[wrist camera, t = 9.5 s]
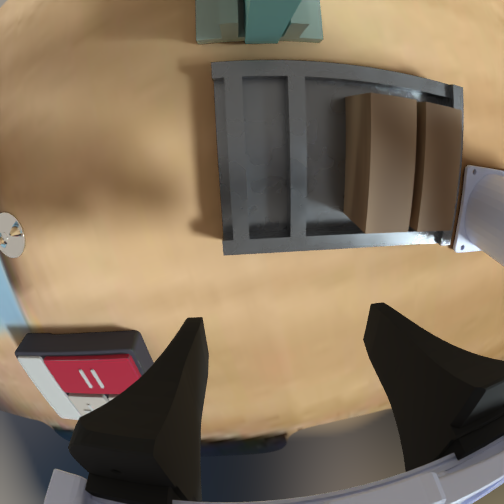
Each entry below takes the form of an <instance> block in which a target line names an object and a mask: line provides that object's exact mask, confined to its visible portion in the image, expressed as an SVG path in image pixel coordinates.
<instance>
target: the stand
mask: <svg viewBox="0 0 504 504" xmlns="http://www.w3.org/2000/svg"><path fill="white" fill-rule="evenodd" d="M322 40H323V31H322V19H321V9H320V0H302V1H301V2H300V4H299V6H298V8H297V9H296V11H295V13H294V14H293V16H292V18H291V20H290V22H289V23H288V25H287V27H286V29H285V31H284V32H283V34H282V36H281V38H280V40H279V41H296V42H313V43H320V42H321V41H322ZM196 41H197V43H198V44H207V43H219V42H236V41H245V31H244V10H243V0H196Z"/></svg>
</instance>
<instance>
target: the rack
mask: <svg viewBox="0 0 504 504" xmlns="http://www.w3.org/2000/svg"><path fill="white" fill-rule="evenodd" d="M211 68H212V79H213V81H214V95H215V115H216V133H217V150H218V166H219V181H220V195H221V209H222V222H223V240H222V242H223V253H224V255H239V254H257V253H274V252H292V251H309V250H326V249H343V248H360V247H377V246H394V245H411V244H428V243H438V244H439V245H450V242H451V237H452V232H453V226H454V221H455V215H456V208H457V201H458V194H459V185H460V176H461V165H462V150H463V87H460V86H456V85H448V84H445V83H441V82H437V81H434V80H430V79H426V78H422V77H417V76H413V75H408V74H404V73H399V72H394V71H388V70H383V69H377V68H370V67H363V66H356V65H348V64H339V63H328V62H315V61H296V60H244V61H225V62H212V63H211ZM365 93H378V94H385V95H392V96H398V97H404V98H409V99H415V100H416V101H417V102H430V103H434V104H439V105H443V106H447V107H451V108H455V109H459V110H462V133H461V155H460V168H459V179H458V188H457V196H456V203H455V210H454V217H453V223H452V228H451V230H450V231H422V232H417V231H415V230H414V229H413V228H411V227H410V226H409V229H408V232H396V233H372V234H365V233H364V232H363V231H362V230H361V229H360V228H359V227H358V226H357V225H356V224H355V223H354V222H352V221H351V220H350V219H349V218H348V217H347V216H346V215H345V214H344V213H343V211H344V191H345V159H346V110H345V97H348V96H353V95H359V94H365Z"/></svg>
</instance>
